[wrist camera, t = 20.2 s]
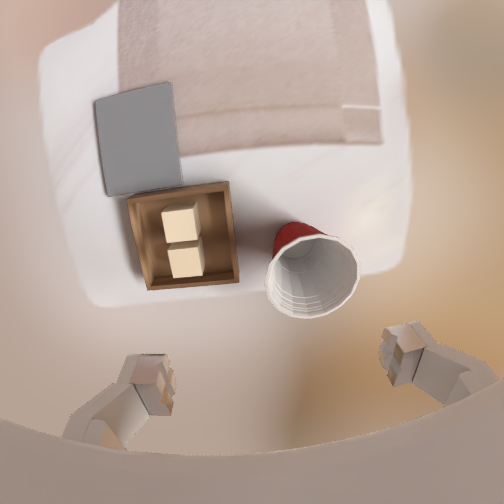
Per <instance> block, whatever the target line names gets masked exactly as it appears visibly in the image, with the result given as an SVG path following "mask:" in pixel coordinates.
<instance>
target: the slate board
mask: <svg viewBox="0 0 504 504" xmlns="http://www.w3.org/2000/svg"><path fill="white" fill-rule="evenodd" d="M95 106H96V117H97V127H98V136H99V144H100V152H101V159H102V166H103V172H104V178H105V184H106V189H107V195H108V197H111V196H117V195H122V194H128V193H134V192H140V191H146V190H152V189H158V188H165V187H172V186H179V185H183V177H182V169H181V161H180V153H179V145H178V136H177V127H176V118H175V108H174V97H173V86H172V83H171V82H168V83H163V84H158V85H153V86H149V87H144V88H140V89H136V90H132V91H128V92H124V93H120V94H117V95H113V96H110V97H106V98H103V99H100V100H96V101H95Z"/></svg>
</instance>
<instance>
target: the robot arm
mask: <svg viewBox="0 0 504 504" xmlns="http://www.w3.org/2000/svg"><path fill="white" fill-rule="evenodd" d="M382 338H383V340H384V341H383V342H382V344H381V345H380V347H379V360H380V363H381V365H382V367H383V368H384V369H386V370H388V374H387V376H388V378H389V380H390V382H391V384H392V386H393V387H396V386H399V385H403V384H407V383H411V382H412V384H414V385H415V386H417V387H418V388H420V389H421V390H423V391H424V392H426V393H427V394H429V395H430V396H432V397H433V398H435V399H436V400H438V401H439V402H441V403H442V404H444V406H443V407H442V408H441V409H439V410H436V411H434V412H431V413H429V414H426V415H423V416H421V417H418V418H415V419H413V420H410V421H407V422H404V423H401V424H398V425H395V426H392V427H389V428H385V429H382V430H379V431H375V432H372V433H368V434H364V435H360V436H357V437H353V438H348V439H344V440H340V441H335V442H330V443H325V444H320V445H315V446H309V447H302V448H296V449H289V450H281V451H272V452H262V453H250V454H234V455H176V454H175V455H174V454H160V453H147V452H138V451H130V450H127V449H126V448H125V447H124V445H125V444H126V443H127V442H128V441H129V440H130V438H131V437H132V436H133V435H134V434H135V433H136V432H137V431H138V429H139V428H140V427H141V426H142V425H143V424H144V423H145V422H146V420H147V419H148V418H149V417H150V415H158V416H171V413H172V407H173V400H172V398H171V397H172V396H173V395H174V394H175V391H176V378H175V374H174V371H173V370H172V369H171V368H170V367H169V364H170V360H169V358H168V355H166V354H129V355H128V356H127V358H126V360H125V363H124V365H123V367H122V370H121V372H120V375H119V377H118V380H117V382H116V383H112V384H111V385H110V386H108V387H107V388H106V389H104V390H103V391H102V392H100V393H99V394H98V395H96V396H95V397H94V398H92V399H91V400H90V401H88V402H87V403H86V404H85V405H83V406H82V407H80V408H79V409H78V410H76V411H75V412H74V413H72V414H71V416H70V418H69V421H68V423H67V425H66V428H65V430H64V432H63V435H62V438H61V437H57V436H53V435H50V434H46V433H42V432H39V431H36V430H33V429H29V428H27V427H24V426H21V425H18V424H15V423H12V422H10V421H7V420H5V419H2V418H0V504H504V378H502V379H499V378H498V377H497V375H496V374H495V373H494V372H493V370H492V369H491V368H490V367H489V365H488V364H487V363H486V362H485V361H483V360H480V359H478V358H475V357H473V356H471V355H468V354H466V353H464V352H461V351H459V350H456V349H454V348H452V347H449V346H447V345H445V344H442V343H439V344H438V343H437V342H436V341H435V339H434V338H433V337H432V336H431V334H430V333H429V332H428V331H427V330H426V328H425V327H424V326H423V325H422V324H421V322H420V321H417V320H416V321H413V322H409V323H406V324H401V325H397V326H393V327H388V328H385V329H384V330H383V333H382Z"/></svg>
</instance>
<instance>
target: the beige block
mask: <svg viewBox="0 0 504 504" xmlns="http://www.w3.org/2000/svg"><path fill="white" fill-rule="evenodd" d="M167 251H168V256H169V261H170V265H171V270H172V274H173V278H181V277H192V276H203V271H204V267H205V257H204V251H203V245H202V238H201V237H198V239H197V240H191V241H181V242H172V243H171V245H170V247H169V248H168V250H167Z"/></svg>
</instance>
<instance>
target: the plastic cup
mask: <svg viewBox="0 0 504 504" xmlns="http://www.w3.org/2000/svg"><path fill="white" fill-rule="evenodd" d="M359 279H360V262H359V260H358V258H357V256H356V253H355V251H354V249H353V248H352V247H351V246H349V245H348V244H347V243H345V242H344V241H343V240H341V239H340V238H338V237H334V236H329V235H327V234H324V233H322V232H321V231H319V230H317V229H315V228H314V227H312V226H309V225H307V224H305V223H300V222H293V223H288V224H287V225H285V226H284V227H282V228H281V230H280V231H279V232H278V234H277V235H276V239H275V245H274V249H273V257H272V260H271V262H270V263H269V267H268V270H267V274H266V278H265V281H264V282H265V287H266V292H267V297H268V299H269V300H270V301H271V302H272V304H273V305H274V306H275V307H276V309H277V310H279V311H281V312H283V313H285V314H287V315H289V316H291V317H297V318H306V319H310V318H314V317H319V316H324V315H327V314H328V313H330V312H332V311H334V310H336V309H337V308H339V307H341V306H342V305H343V304H344V303H345V302H346V301H347V300H348V299H349V298H350V297H351V296H352V294H353V293H354V291H355V288H356V286H357V284H358V281H359Z"/></svg>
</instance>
